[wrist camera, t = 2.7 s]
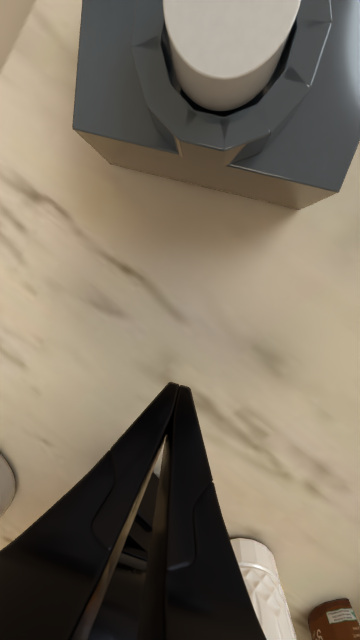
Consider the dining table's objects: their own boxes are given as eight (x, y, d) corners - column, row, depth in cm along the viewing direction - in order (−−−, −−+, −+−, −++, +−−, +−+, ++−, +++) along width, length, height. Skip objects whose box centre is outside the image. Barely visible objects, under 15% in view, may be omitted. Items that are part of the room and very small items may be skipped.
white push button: (261, 122, 10) (275, 91, 8) (160, 99, 10) (150, 63, 8) (302, -21, 8) (330, -99, 6) (185, -46, 8) (180, -129, 7)
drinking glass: (265, 527, 25) (302, 699, 15) (288, 574, 26) (335, 756, 17) (198, 540, 26) (194, 702, 17) (224, 583, 28) (234, 753, 19)
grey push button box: (299, 212, 16) (364, 184, 10) (109, 166, 17) (45, 109, 10) (367, 24, 13) (534, -210, 6) (133, -26, 14) (65, -294, 7)
